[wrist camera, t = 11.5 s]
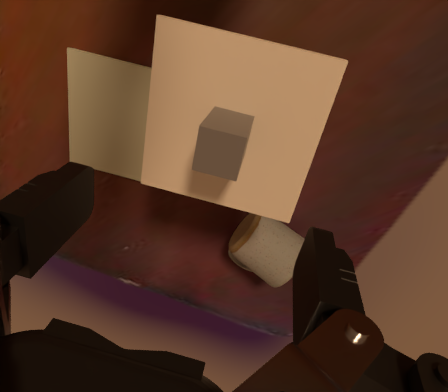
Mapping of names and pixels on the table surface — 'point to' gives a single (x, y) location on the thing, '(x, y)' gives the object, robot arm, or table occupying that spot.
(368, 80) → the table surface
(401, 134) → the table surface
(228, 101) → the cover board
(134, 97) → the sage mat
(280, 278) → the ceramic mug
